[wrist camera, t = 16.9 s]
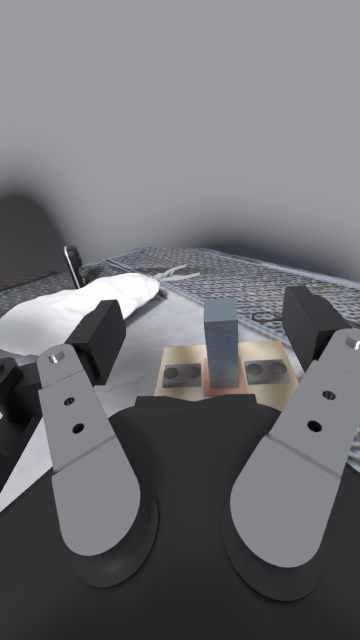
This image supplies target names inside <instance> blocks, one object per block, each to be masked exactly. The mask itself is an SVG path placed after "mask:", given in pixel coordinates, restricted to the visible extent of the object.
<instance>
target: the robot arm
mask: <svg viewBox="0 0 360 640" xmlns="http://www.w3.org/2000/svg"><path fill="white" fill-rule="evenodd" d="M282 325H283V329H284V331H285V333H286V335H287V337H288V339H289V341H290V343H291V345H292V348H293V350H294V352H295V354H296V356H297V358H298V360H299V362H300V364H301V366H302V368H303V370H304V372H305V375H304V376H303V378H302V380H301V381H300V383H299V384H298V386H297V388H296V389H295V391H294V393H293V394H292V396H291V398H290V399H289V401H288V403H287V404H286V406H285V408H284V409H283V411H282V412H281V411H279V410H277V409H275V408H272V407H270V406H267V405H263V404H259V403H257V400H256V396H255V394H224V395H220V396H216V397H211V398H207V399H203V400H199V401H188V400H183V399H178V398H173V397H168V396H137V399H136V402H135V406H132V407H129V408H126V409H124V410H121V411H119V412H117V413H116V414H114V415H112V416H111V417H109V418H107V416H106V414H105V412H104V410H103V407H102V405H101V403H100V401H99V399H98V397H97V395H96V393H95V391H94V389H93V388H94V386H95V385H105V384H106V382H107V379H108V377H109V375H110V372H111V370H112V367H113V365H114V363H115V360H116V358H117V356H118V353H119V351H120V349H121V346H122V344H123V342H124V339H125V337H126V326H125V322H124V319H123V315H122V312H121V308H120V305H119V302H118V300H117V299H112V300H101V301H100V302H99V304H98V305H97V307H96V308H95V309H94V310H93V311H91V312H89V313H88V314H86V315H85V316H84V317H83V318H82V320H81V321H80V322H79V324H78V325H77V326H76V328H75V329H74V330H73V332H72V333H71V334H70V336H69V337H68V338H67V340H66V341H65V342H64V344H60V345H56V346H53V347H51V348H49V349H47V350H45V351H44V352H43V353H41V354H40V356H39V357H38V359H37V362H35V363H31V364H27V365H23V366H20V367H19V366H18V364H17V362H16V361H15V359H13V358H2V359H0V412H1V414H2V415H3V417H2V418H1V419H0V493H1V491H2V489H3V487H4V485H5V484H6V482H7V480H8V478H9V476H10V475H11V473H12V471H13V469H14V467H15V466H16V464H17V462H18V460H19V458H20V456H21V455H22V453H23V451H24V449H25V447H26V446H27V444H28V442H29V440H30V438H31V437H32V435H33V433H34V431H35V429H36V427H37V426H38V424H39V422H40V420H41V418H42V417H43V419H44V424H45V429H46V434H47V439H48V444H49V449H50V454H51V459H52V464H53V467H52V468H50V469H49V470H48V471H47V472H46V473H45V474H44V475H42V476H41V477H40V478H39V479H38V480H37V481H36V482H34V483H33V484H32V485H31V486H30V487H29V488H28V489H26V490H25V491H24V492H23V493H22V494H21V495H20V496H18V497H17V498H16V499H15V500H14V501H13V502H12V503H10V504H9V505H8V506H7V507H6V508H5V509H4V510H2V511H1V512H0V640H360V473H359V472H358V471H357V470H355V469H354V468H353V467H352V466H351V465H349V464H348V463H347V462H346V460H347V457H348V454H349V451H350V448H351V445H352V442H353V439H354V436H355V433H356V430H357V427H358V424H359V421H360V330H358V329H353V328H352V327H351V326H350V325H349V324H348V323H347V322H346V320H345V319H344V318H343V317H342V316H341V315H340V314H339V313H338V311H337V310H336V309H335V308H333V306H332V305H331V304H330V302H329V301H328V300H326V299H324V298H322V297H320V296H319V295H312V293H311V292H310V291H309V290H308V288H307V287H306V286H305V285H301V286H288V287H286V289H285V293H284V302H283V311H282Z"/></svg>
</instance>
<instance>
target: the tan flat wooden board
mask: <svg viewBox="0 0 360 640" xmlns="http://www.w3.org/2000/svg"><path fill="white" fill-rule="evenodd" d="M238 366H239V388H229V389H211V388H210V379H209V369H208V359H207V349H206V345H193V346H176V347H164V352H163V356H162V361H161V366H160V370H159V375H158V380H157V384H156V389H155V394H154V396H168V397H173V398H178V399H183V400H188V401H199V400H203V399H207V398H211V397H216V396H220V395H224V394H255V396H256V400H257V403H259V404H263V405H267V406H270V407H272V408H275V409H277V410H279V411H281V412H282V411H283V409H284V408H285V406H286V404H287V403H288V401H289V399H290V398H291V396H292V394H293V393H294V391H295V389H296V388H297V386H298V384H299V383H298V380H297V378H296V376H295V373H294V371H293V369H292V367H291V364H290V362H289V360H288V357H287V355H286V353H285V351H284V348H283V346H282V344H281V341H280V340H276V341H260V342H243V343H238Z"/></svg>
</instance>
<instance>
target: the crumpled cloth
mask: <svg viewBox="0 0 360 640" xmlns="http://www.w3.org/2000/svg"><path fill="white" fill-rule="evenodd" d="M159 288H160V283H159V282H158V281H157V280H155V279H152V278H149V277H147V276H144V275H142V274H138V273H126V274H121V275H117V276H112V277H102V278H99V279H96V280H95V281H93V282H92V283H90V284H88V285H86V286H85V287H83V288H80V289H77V290H63V291H60V292H58V293H55V294H52V295H45V296H40V297H38V298H36V299H34V300H30V301H26V302H24V303H21V304H18V305H16V306H15V307H14V308H13V309H11V310H10V311H8V312H7V313H6V314H5V315H4V316H3V317H1V318H0V349H2V350H4V351H7V352H11V353H15V354H20V355H23V356H27V355H29V354H33V355H36V356H40V354H41V353H43V352H44V351H45V350H47V349H49V348H51V347H53V346H56V345H60V344H64V342H65V341H66V340H67V338H68V337H69V336H70V334H71V333H72V332H73V330H74V329H75V328H76V326H77V325H78V324H79V322H80V321H81V320H82V318H83V317H84V316H85V315H86V314H88V313H89V312H91V311H93V310H94V309H95V308H96V307H97V305H98V304H99V302H100V301H101V300H112V299H117V300H118V302H119V305H120V308H121V312H122V315H123V319H126V318H127V317H128V316H129V315H130V314H132V313H133V311H134V310H135V309H137V308H139V307H141V306H143V305H144V304H145V303H146V302H148V301H149V300H151V299H153V298H154V296H155V295H156V294H157V293H158V291H159Z"/></svg>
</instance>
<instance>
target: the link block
mask: <svg viewBox="0 0 360 640" xmlns="http://www.w3.org/2000/svg"><path fill="white" fill-rule="evenodd" d="M204 330H205V340H206V349H207V359H208V369H209V379H210V388H211V389H229V388H239V366H238V319H237V314H236V309H235V304H234V299H233V298H226V299H213V300H204Z"/></svg>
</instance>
